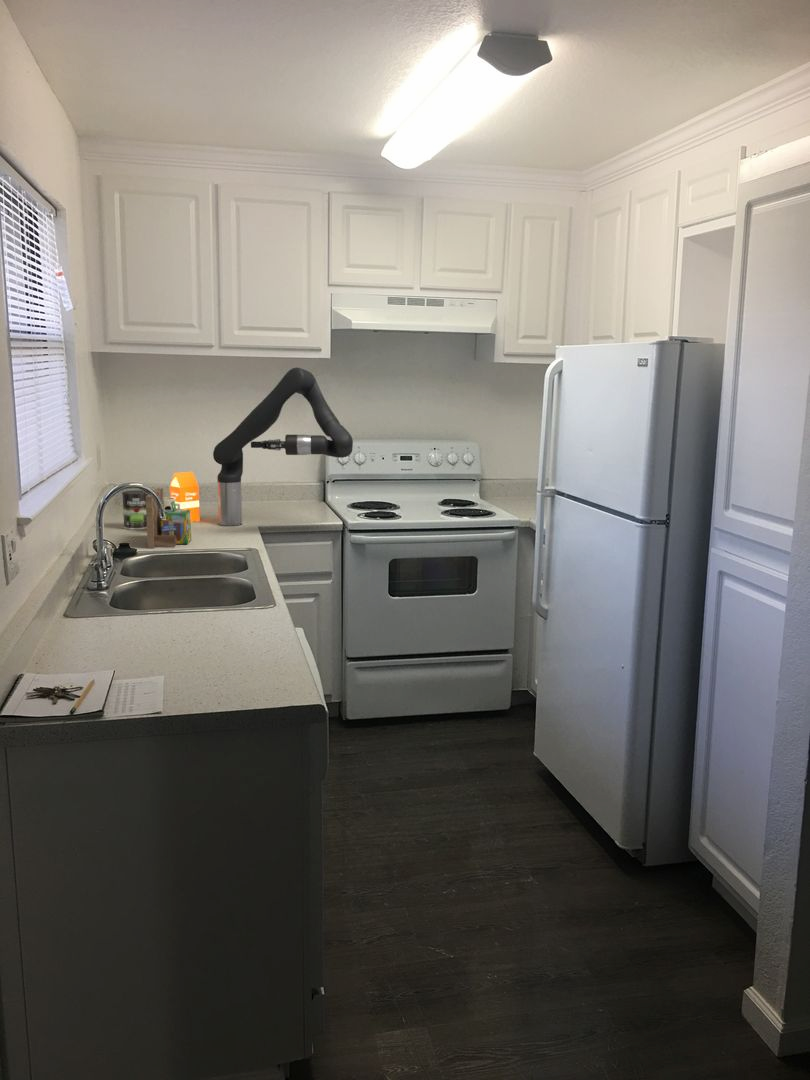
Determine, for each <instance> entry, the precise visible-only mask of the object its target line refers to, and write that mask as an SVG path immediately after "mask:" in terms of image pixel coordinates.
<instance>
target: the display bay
mask: <svg viewBox="0 0 810 1080" xmlns="http://www.w3.org/2000/svg"><path fill="white" fill-rule="evenodd" d="M152 492H154V493H155V494H156V495H157V496H158V497H159V498H160V500H161V502H162V504H163V507H164V488H163V487H161V488H160V487H159V488H156V489H154V490H153V491H152ZM146 517H147V529H146V532H147V533H146V534H147V535H146V536H147V537H146V538H147V540H146V541H147V549H155V548H154V547H175V546H177V544H176V535H161V519H160V514H159V510H158V507H157V504H156V502H155V500H154V499H153V498H152V497H151V496H150V495H147V496H146ZM175 548H176V547H175Z"/></svg>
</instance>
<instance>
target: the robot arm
mask: <svg viewBox="0 0 810 1080" xmlns="http://www.w3.org/2000/svg"><path fill="white" fill-rule="evenodd" d="M295 394H299V395H302V397H304V398H305V399H306V400H307V402H308V404H309V405H310V407H311V409H312V413H313V416H314V418H315V420H316V422H317V425H318V426H319V428H320V430H321V431H322V432H323V433H324V435H322V434H321V435H319V434H318V435H317V434H315V435H312V434H309V435H308V434H285V438H284V439H285V440H281V439H280V438H276V439H268V440H261V441H254V440H256V439H257V438H259V437H260V436H262V435H263V434H265V432H266V431H268V430H269V429H270V428H271V427H272V426H273V425H274V424H275V423H276V422H277V420H278V419H279V417H280V415H281V412H282V409H283V406H284V405H285V404H286V402H287V401H288V400H289V399H290V398H291V397H293V395H295ZM332 410H333V409H331V408H330V406H329V404H328V403H327V400H326V399H325V397H324V395H323V393H322V391H321V389H320V386H319V384H318V382H317V380H316V377H315V376H314V374H313V373H312V372H310V370H309V371H308V370H307V369H305V368H304V369H303V368H301V367H293V368H291V369H289V370H288V371H287V372H286V373H285V374H284V375H283V377H282V378H281V380H280V381H279V382H277V385H275V387H274V388H273V390H271V391H270V393H268V394H267V395H266V397H264V398H263V400H262V401H261V402H260V403H259V404H257V405H256V407H254V408H253V410H251V411H250V412H249V414H248V415H247V416H246V417H245V418H244V419H243V420H242V421H241V422H240V423H239V425H238V426H237V427H236V428H235V429H234V430H233V431H232V432H231V433H229V435H226V437H224V439H222V440H221V441H220V442H218V443H217V444H216V445H215V447H214V449H213V452H212V455H213V456H212V457H213V460H214V461H215V462H216V463H217V464H219V465H221V469H220V472H219V473H218V474H217V477H216V478H217V505H218V509H217V510H218V525H219V526H225V527H226V526H227V527H230V526H231V527H232V526H233V525H234V526H240V524H241V525H242V524H243V505H242V504H243V503H242V501H243V500H242V475H243V473H244V454H243V451H244V450H243V448H244V447H245V446H247V445H248V444H249V443H250V448H253V449H263V450H270V451H271V450H272V451H281V449H285V455H286V456H308V455H323V456H327V457H333V458H338V459H339V458H340V459H343V458H347V457H349V456H350V455H351V454H352V453H353V447H354V446H353V445H354V439H353V438H352V434H350V432H349V431H348V429H346V428H345V427H344V426H343V425H342V424H341V422H340V421H339V420H338V417H337V416H336V415H335V414H334V412H333V411H332ZM327 437H330V439H327Z"/></svg>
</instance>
